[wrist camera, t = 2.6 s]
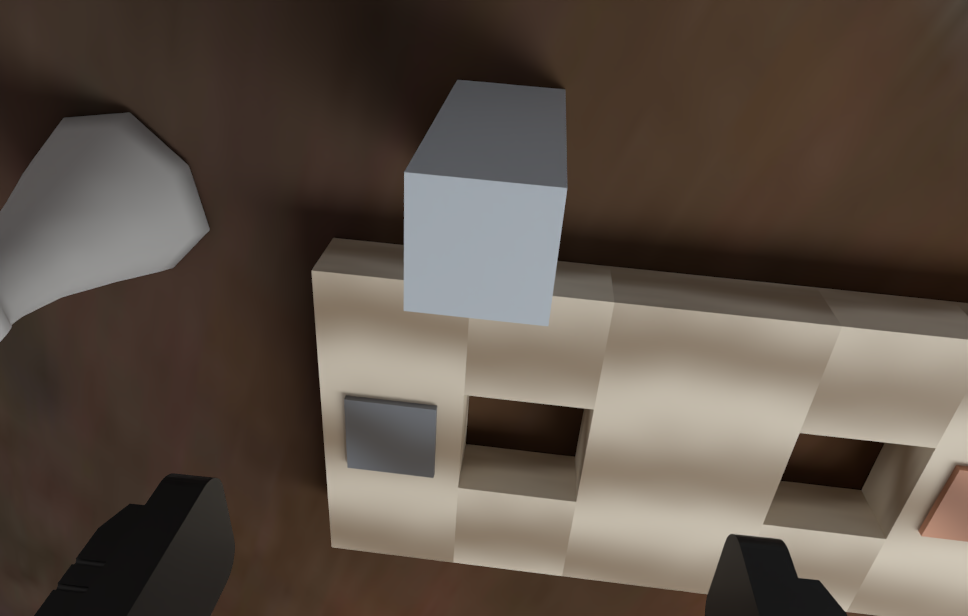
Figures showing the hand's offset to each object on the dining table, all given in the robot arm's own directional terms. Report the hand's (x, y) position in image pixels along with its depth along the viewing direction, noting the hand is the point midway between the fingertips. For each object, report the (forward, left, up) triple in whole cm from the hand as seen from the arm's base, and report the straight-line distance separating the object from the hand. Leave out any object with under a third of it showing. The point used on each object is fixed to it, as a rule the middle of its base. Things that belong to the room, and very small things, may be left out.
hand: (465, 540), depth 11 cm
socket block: (+12, +8, -18) cm, 24 cm away
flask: (+3, -17, -19) cm, 25 cm away
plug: (-1, -1, -18) cm, 18 cm away
